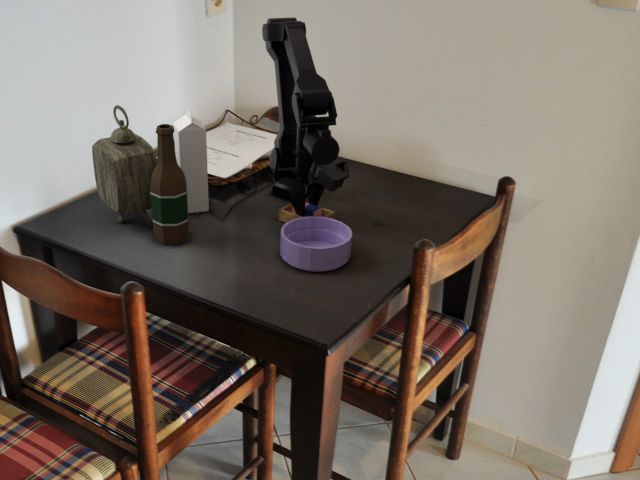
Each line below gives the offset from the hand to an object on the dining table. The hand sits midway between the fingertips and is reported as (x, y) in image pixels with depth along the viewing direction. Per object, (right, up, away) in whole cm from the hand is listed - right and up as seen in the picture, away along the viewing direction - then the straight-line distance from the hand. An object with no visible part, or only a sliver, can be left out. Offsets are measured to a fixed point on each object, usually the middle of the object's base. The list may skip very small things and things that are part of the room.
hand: (306, 215), depth 167 cm
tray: (0, -1, +1) cm, 1 cm away
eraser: (0, -1, 0) cm, 1 cm away
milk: (-26, +3, +6) cm, 26 cm away
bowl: (+1, -10, -13) cm, 16 cm away
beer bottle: (-29, -6, -7) cm, 30 cm away
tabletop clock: (-39, -1, 0) cm, 39 cm away
